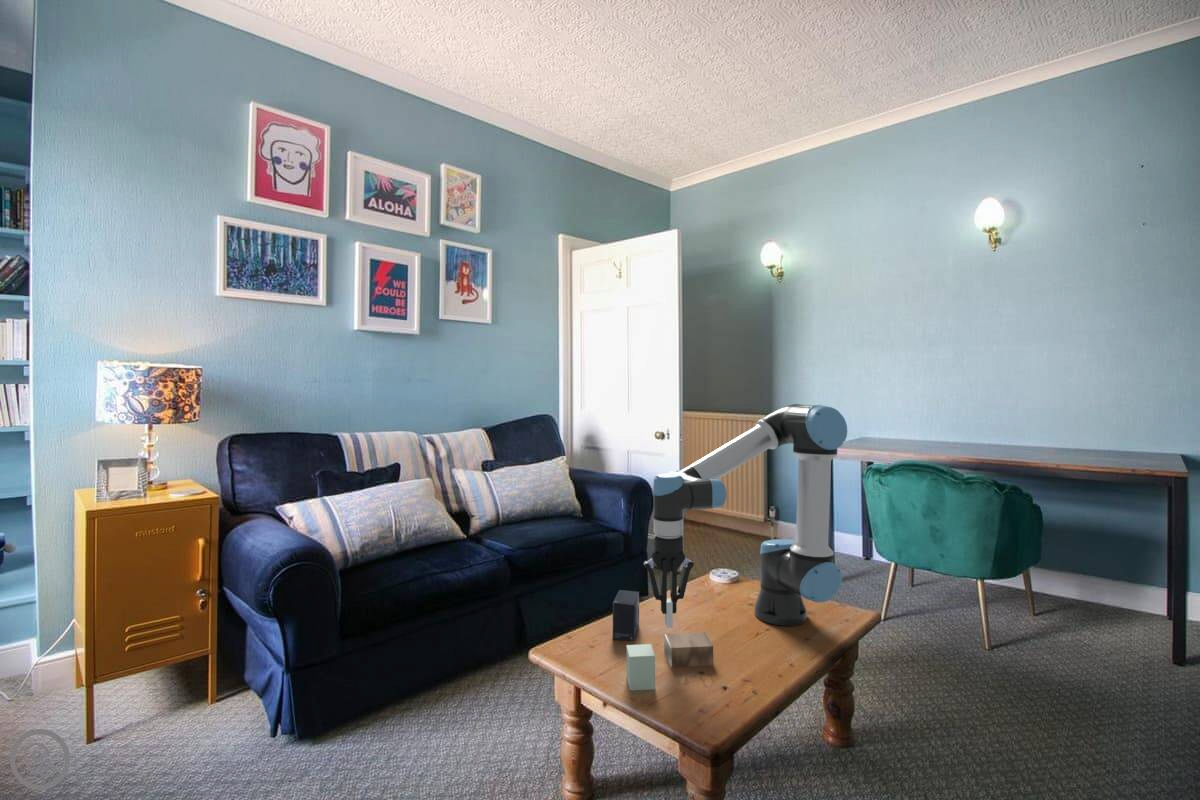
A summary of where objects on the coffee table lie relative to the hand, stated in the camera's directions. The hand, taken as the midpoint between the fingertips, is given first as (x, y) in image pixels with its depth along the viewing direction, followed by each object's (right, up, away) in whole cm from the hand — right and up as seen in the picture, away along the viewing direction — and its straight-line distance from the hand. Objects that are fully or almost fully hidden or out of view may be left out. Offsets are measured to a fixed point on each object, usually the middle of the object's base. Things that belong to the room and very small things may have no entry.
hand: (668, 625), depth 150 cm
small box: (-10, -9, +17) cm, 21 cm away
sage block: (-8, -9, -11) cm, 17 cm away
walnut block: (0, -7, 0) cm, 7 cm away
